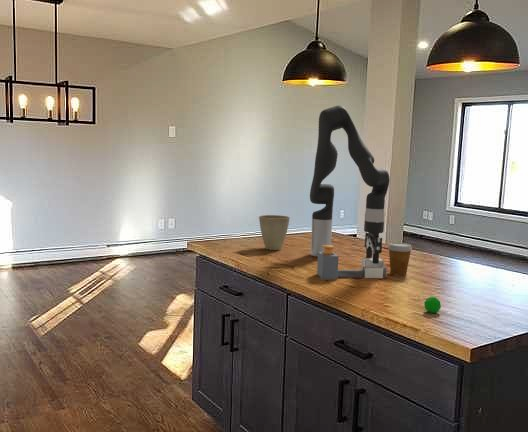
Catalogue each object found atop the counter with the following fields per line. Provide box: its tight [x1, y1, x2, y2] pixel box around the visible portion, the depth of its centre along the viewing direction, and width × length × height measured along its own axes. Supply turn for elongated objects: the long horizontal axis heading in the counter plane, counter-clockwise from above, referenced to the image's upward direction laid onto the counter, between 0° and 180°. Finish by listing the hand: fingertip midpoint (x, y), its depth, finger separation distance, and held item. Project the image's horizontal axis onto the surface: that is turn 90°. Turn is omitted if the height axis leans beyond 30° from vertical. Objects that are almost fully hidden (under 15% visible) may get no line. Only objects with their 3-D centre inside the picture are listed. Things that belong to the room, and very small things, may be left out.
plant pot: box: [258, 214, 291, 251], centre depth 275 cm, size 15×15×16 cm
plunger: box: [323, 244, 335, 255], centre depth 219 cm, size 4×4×5 cm
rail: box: [338, 265, 387, 279], centre depth 221 cm, size 3×20×4 cm, turn 97°
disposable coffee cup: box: [387, 242, 413, 276], centre depth 229 cm, size 10×10×12 cm
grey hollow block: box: [316, 251, 339, 280], centre depth 219 cm, size 9×6×9 cm, turn 7°
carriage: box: [361, 257, 385, 279], centre depth 222 cm, size 5×7×7 cm
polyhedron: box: [423, 296, 442, 314], centre depth 175 cm, size 5×5×5 cm
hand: (372, 261), depth 221 cm, fingers open, 8 cm apart
